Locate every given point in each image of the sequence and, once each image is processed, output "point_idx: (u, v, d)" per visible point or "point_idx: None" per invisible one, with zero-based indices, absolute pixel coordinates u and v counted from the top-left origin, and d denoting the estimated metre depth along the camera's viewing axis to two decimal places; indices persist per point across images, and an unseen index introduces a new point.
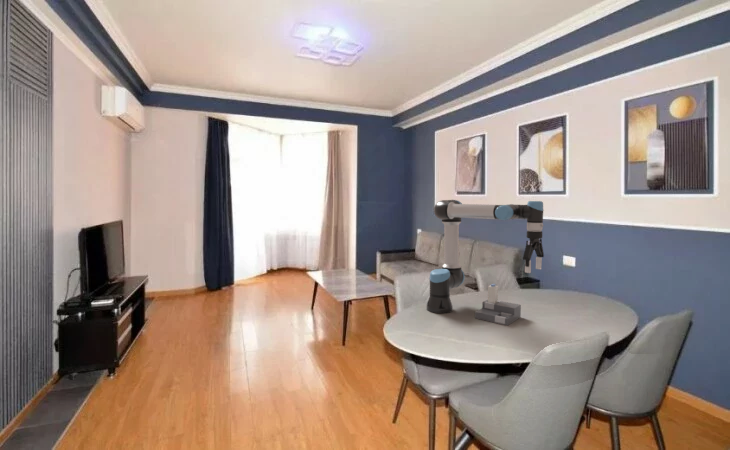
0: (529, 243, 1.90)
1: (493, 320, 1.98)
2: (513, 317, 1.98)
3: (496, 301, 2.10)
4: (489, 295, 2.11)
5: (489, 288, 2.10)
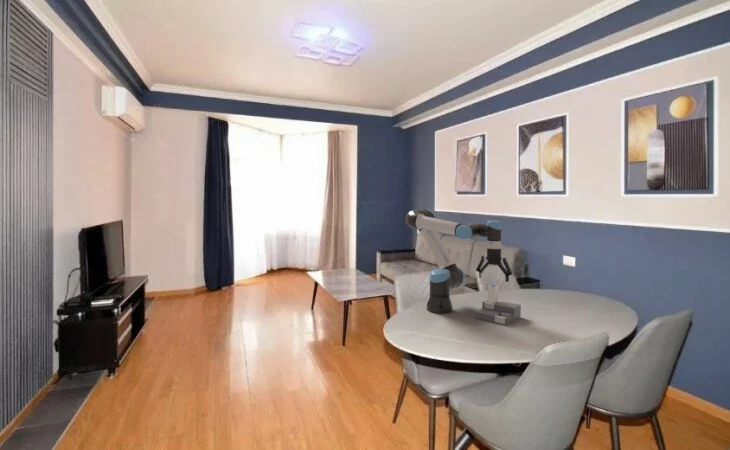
0: None
1: (493, 320, 1.98)
2: (513, 317, 1.98)
3: (496, 301, 2.10)
4: (489, 295, 2.11)
5: (489, 288, 2.10)
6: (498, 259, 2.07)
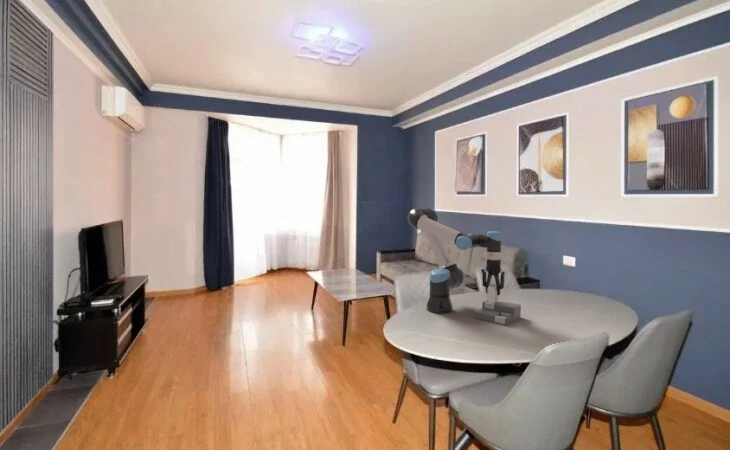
0: None
1: (493, 320, 1.98)
2: (513, 317, 1.98)
3: (496, 301, 2.10)
4: (489, 295, 2.11)
5: (489, 288, 2.10)
6: (497, 270, 2.07)
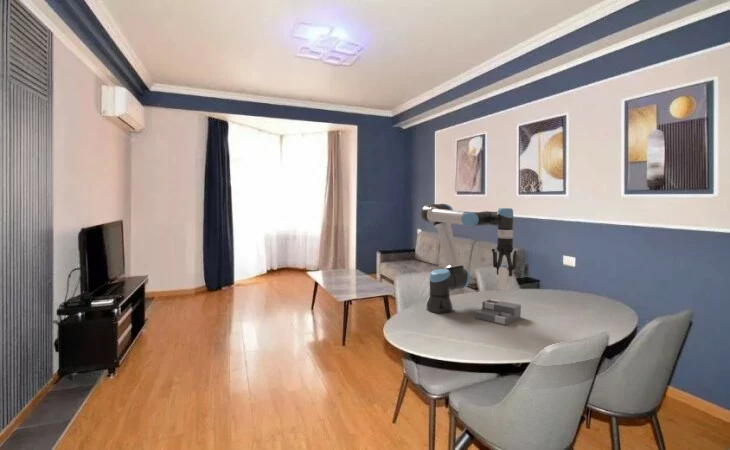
0: None
1: (493, 320, 1.98)
2: (513, 317, 1.98)
3: (508, 283, 1.96)
4: (500, 277, 1.96)
5: (500, 269, 1.96)
6: (509, 249, 1.93)
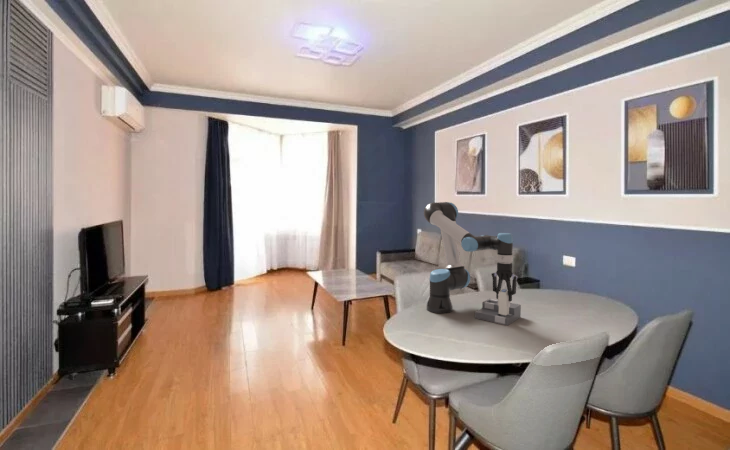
0: None
1: (493, 320, 1.98)
2: (513, 317, 1.98)
3: None
4: (500, 301, 1.97)
5: (500, 294, 1.97)
6: (509, 274, 1.94)
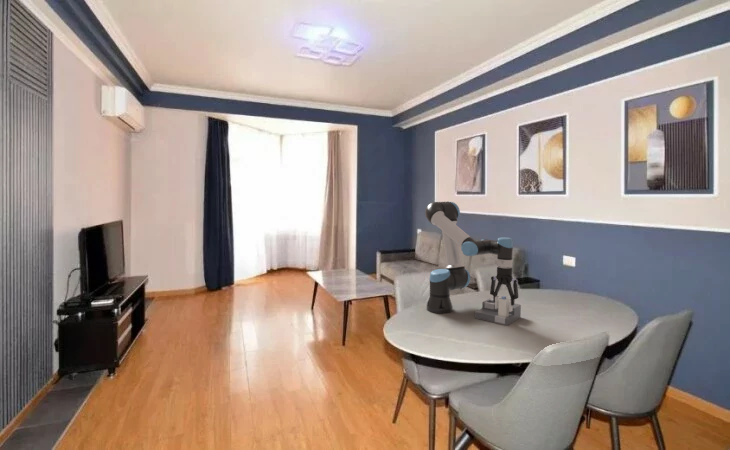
0: None
1: (493, 320, 1.98)
2: (513, 317, 1.98)
3: (507, 315, 1.97)
4: (499, 308, 1.97)
5: (500, 301, 1.97)
6: (509, 279, 1.94)
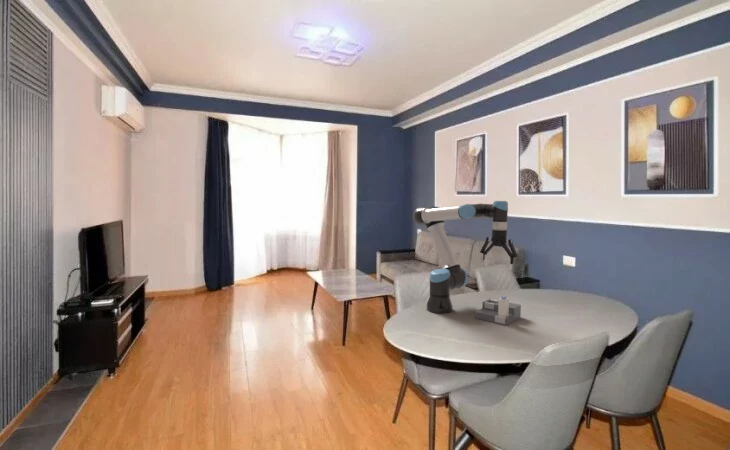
0: None
1: (493, 320, 1.98)
2: (513, 317, 1.98)
3: (507, 315, 1.97)
4: (499, 308, 1.97)
5: (500, 301, 1.97)
6: (503, 241, 2.00)
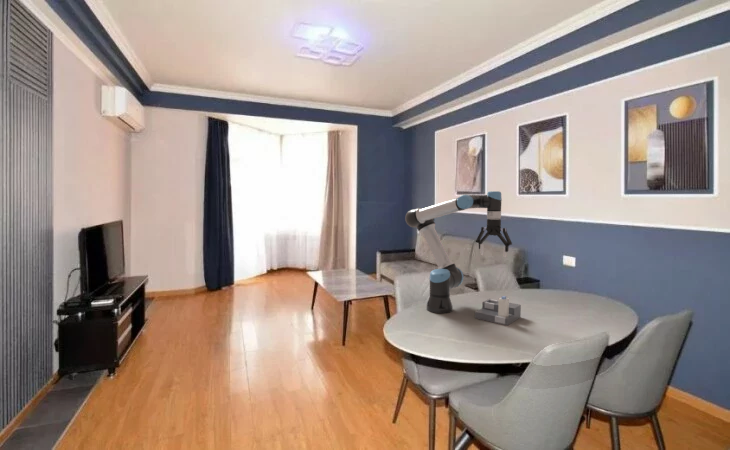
0: None
1: (493, 320, 1.98)
2: (513, 317, 1.98)
3: (507, 315, 1.97)
4: (499, 308, 1.97)
5: (500, 301, 1.97)
6: (498, 229, 2.07)
